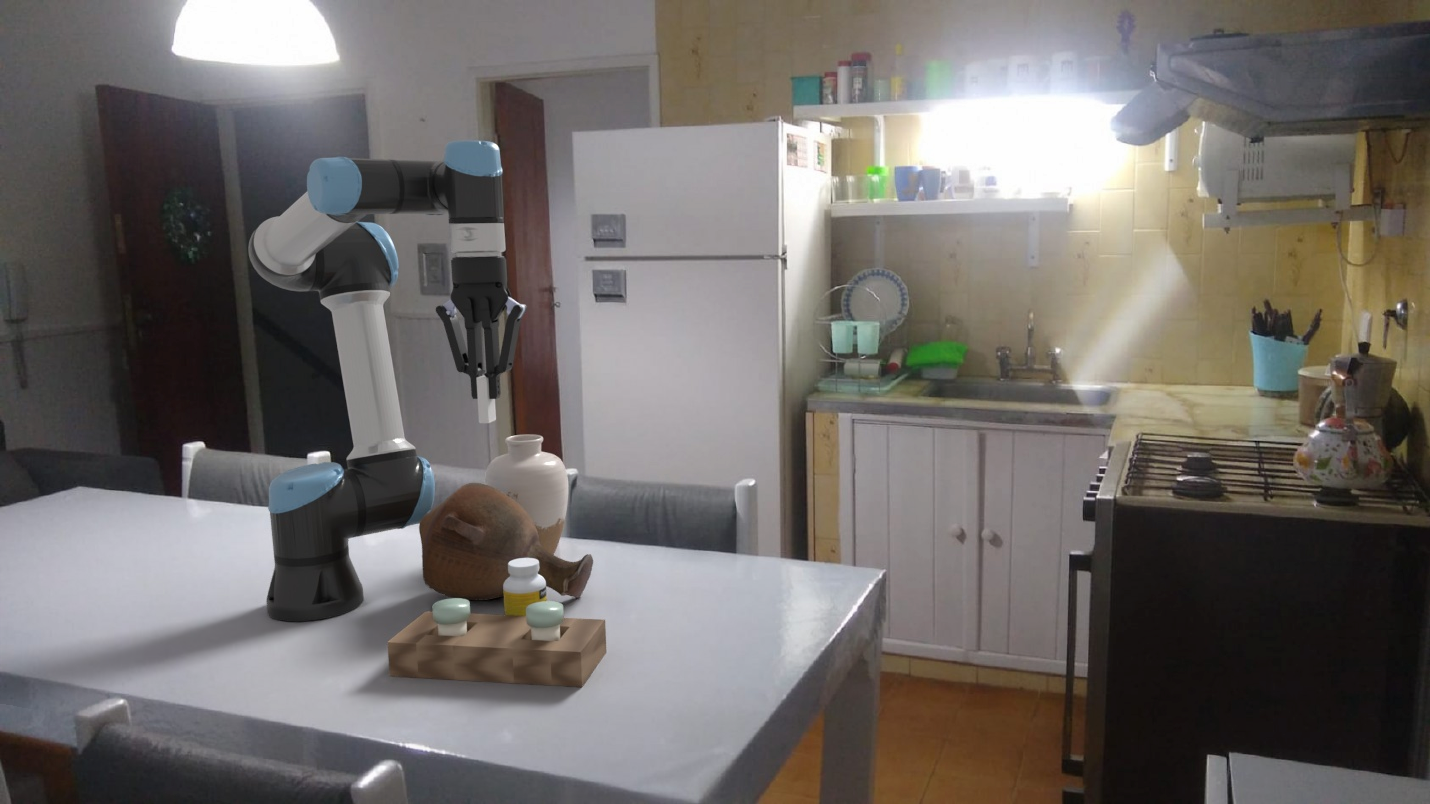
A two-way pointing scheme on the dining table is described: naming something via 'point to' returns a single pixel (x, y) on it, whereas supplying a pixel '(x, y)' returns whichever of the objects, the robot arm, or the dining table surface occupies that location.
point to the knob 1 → (451, 616)
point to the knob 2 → (545, 620)
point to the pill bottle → (523, 586)
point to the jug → (488, 547)
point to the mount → (498, 651)
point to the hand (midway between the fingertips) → (487, 421)
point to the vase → (533, 485)
